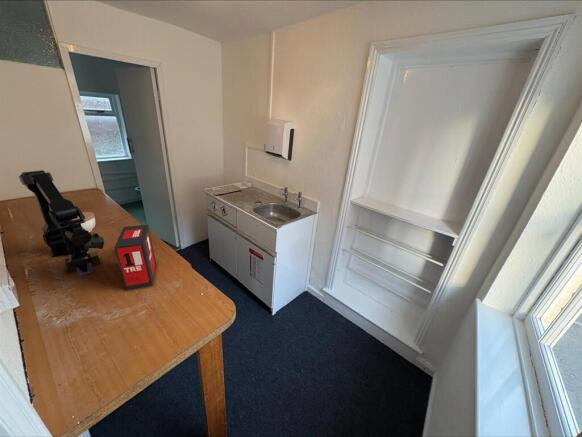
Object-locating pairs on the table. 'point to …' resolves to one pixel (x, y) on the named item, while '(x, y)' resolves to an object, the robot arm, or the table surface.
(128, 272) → the cleaning product box
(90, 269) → the blue block
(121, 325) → the table surface
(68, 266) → the walnut block
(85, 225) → the lidded bowl
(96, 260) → the walnut block
